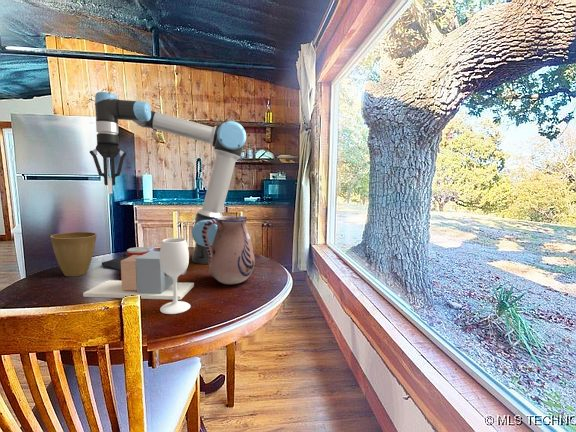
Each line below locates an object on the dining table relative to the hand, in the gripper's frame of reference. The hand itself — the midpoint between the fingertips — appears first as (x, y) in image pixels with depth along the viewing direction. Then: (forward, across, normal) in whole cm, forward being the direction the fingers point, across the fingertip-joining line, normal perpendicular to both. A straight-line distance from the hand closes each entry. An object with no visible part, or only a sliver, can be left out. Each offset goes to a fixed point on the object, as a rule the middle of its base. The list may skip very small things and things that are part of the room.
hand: (110, 193), depth 121 cm
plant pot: (+33, +13, -2) cm, 35 cm away
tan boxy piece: (+31, -14, +32) cm, 46 cm away
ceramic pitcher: (+33, -39, +33) cm, 61 cm away
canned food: (+33, -9, +11) cm, 36 cm away
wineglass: (+33, -17, +49) cm, 61 cm away
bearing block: (+32, -10, +30) cm, 45 cm away
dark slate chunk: (+33, -6, -12) cm, 36 cm away
